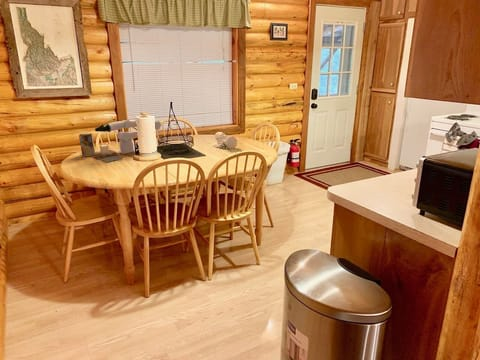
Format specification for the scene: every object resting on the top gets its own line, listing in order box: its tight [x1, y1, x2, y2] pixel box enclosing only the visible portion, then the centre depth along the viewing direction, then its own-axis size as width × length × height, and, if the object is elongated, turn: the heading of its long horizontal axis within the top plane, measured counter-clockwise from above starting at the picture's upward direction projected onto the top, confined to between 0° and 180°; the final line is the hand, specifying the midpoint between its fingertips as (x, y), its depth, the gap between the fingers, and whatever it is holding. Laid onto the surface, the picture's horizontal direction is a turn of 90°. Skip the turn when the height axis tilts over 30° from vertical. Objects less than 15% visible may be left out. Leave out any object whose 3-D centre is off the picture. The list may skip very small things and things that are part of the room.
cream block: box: [99, 144, 110, 154], centre depth 278 cm, size 4×4×8 cm
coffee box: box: [78, 133, 96, 157], centre depth 279 cm, size 9×6×16 cm
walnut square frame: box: [92, 149, 119, 160], centre depth 279 cm, size 14×12×2 cm
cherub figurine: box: [212, 131, 238, 150], centre depth 300 cm, size 13×12×20 cm
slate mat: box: [100, 156, 123, 163], centre depth 270 cm, size 12×10×1 cm
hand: (97, 130), depth 270 cm, fingers open, 7 cm apart
